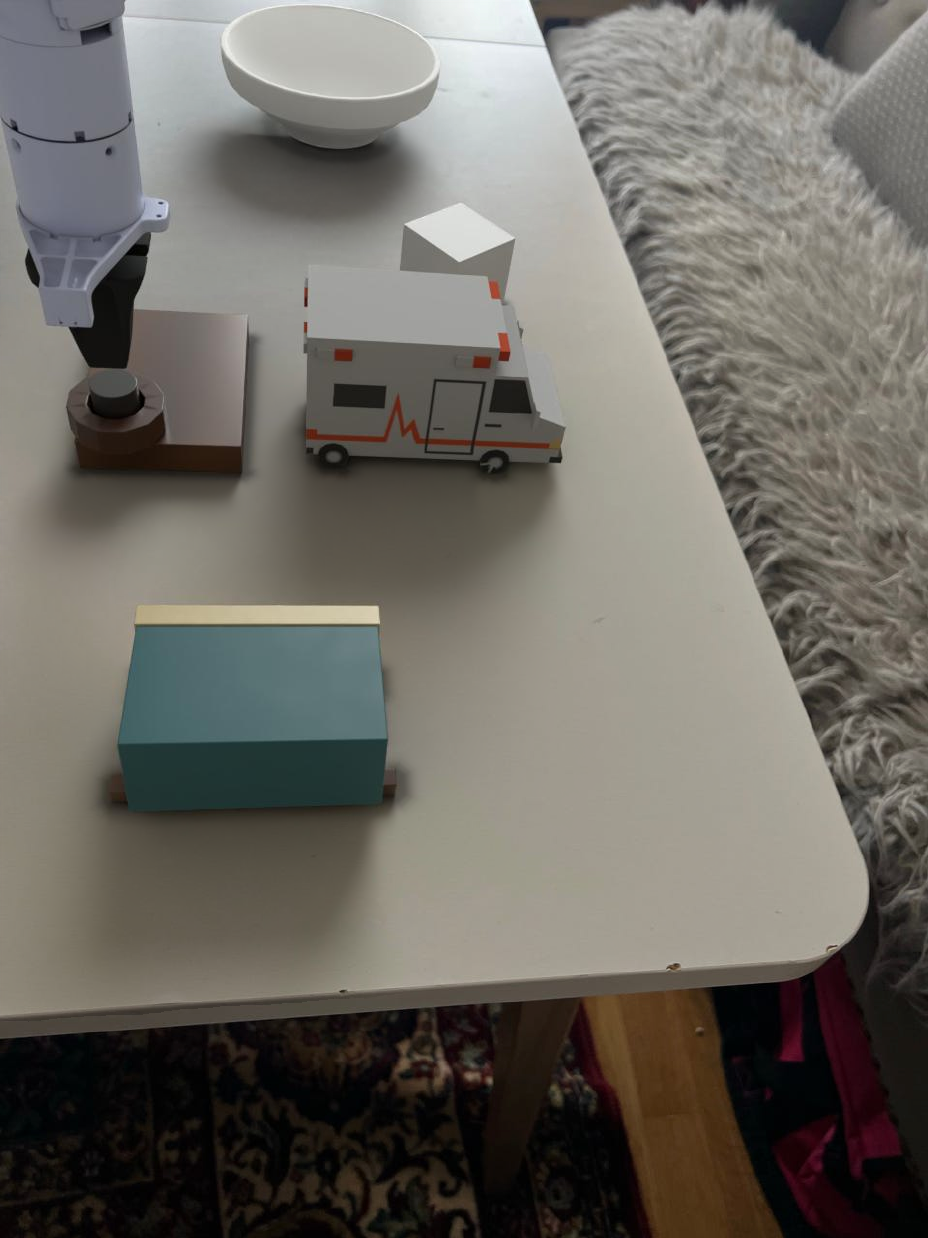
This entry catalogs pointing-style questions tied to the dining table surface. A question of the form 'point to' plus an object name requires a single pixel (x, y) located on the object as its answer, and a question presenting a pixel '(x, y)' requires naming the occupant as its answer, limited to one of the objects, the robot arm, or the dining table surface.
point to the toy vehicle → (423, 371)
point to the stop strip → (119, 794)
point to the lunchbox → (253, 707)
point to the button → (114, 394)
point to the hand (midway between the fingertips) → (108, 360)
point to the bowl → (330, 71)
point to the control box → (173, 397)
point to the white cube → (458, 246)
